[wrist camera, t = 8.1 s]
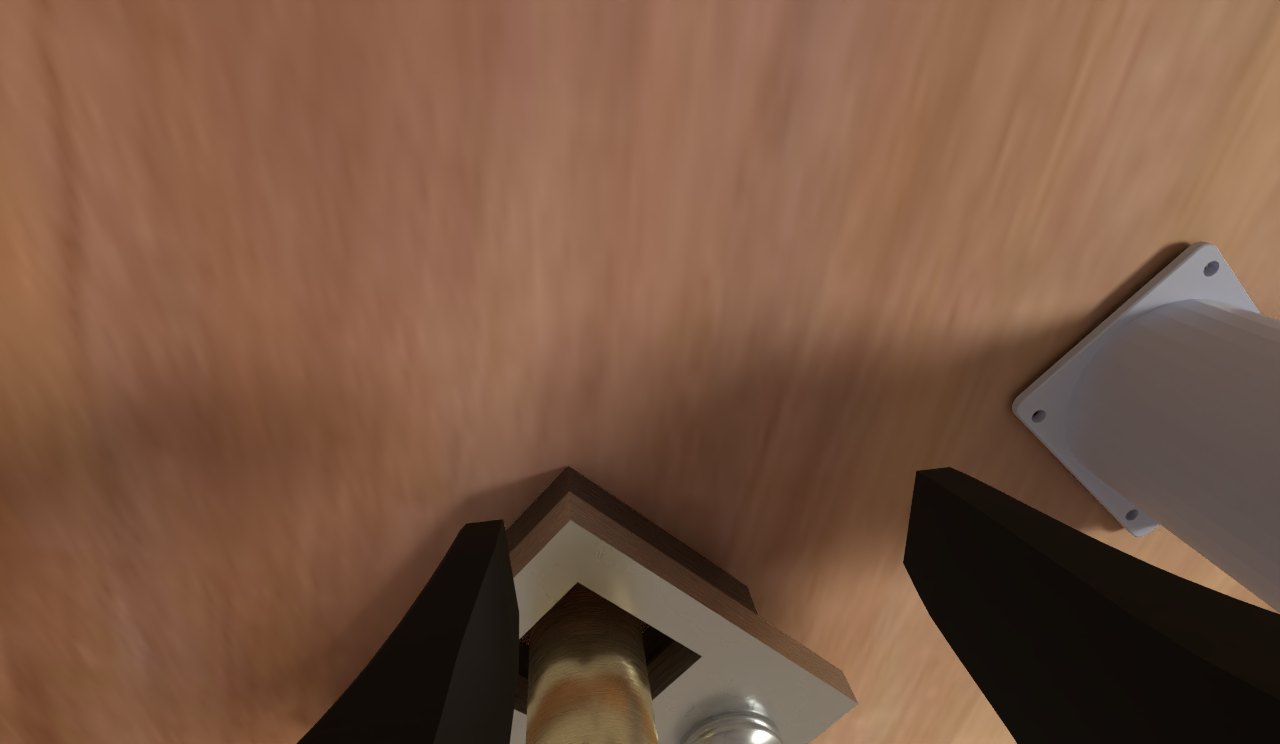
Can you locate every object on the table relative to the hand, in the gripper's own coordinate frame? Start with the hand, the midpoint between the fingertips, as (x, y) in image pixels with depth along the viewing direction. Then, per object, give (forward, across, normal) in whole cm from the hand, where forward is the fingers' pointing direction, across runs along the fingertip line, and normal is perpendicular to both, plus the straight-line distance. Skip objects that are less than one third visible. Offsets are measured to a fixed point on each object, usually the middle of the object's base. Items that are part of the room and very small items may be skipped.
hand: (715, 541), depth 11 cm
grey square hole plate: (+10, +1, +13) cm, 17 cm away
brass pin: (+10, +3, +11) cm, 15 cm away
